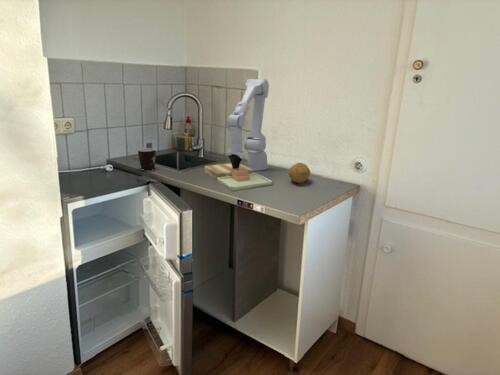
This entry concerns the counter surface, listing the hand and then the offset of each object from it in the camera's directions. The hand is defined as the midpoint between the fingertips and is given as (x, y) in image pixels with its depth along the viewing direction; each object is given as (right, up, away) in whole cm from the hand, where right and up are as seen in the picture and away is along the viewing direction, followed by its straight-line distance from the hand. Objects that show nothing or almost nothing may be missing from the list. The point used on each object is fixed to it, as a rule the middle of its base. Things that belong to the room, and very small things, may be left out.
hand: (235, 170), depth 177 cm
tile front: (+2, -4, -4) cm, 6 cm away
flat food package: (-4, -1, +8) cm, 9 cm away
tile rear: (+2, -2, -3) cm, 4 cm away
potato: (+29, -6, -4) cm, 29 cm away
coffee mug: (-45, +1, +13) cm, 47 cm away
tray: (+4, -6, -6) cm, 10 cm away
